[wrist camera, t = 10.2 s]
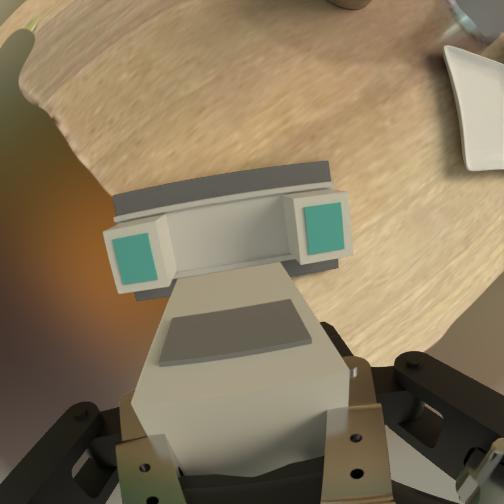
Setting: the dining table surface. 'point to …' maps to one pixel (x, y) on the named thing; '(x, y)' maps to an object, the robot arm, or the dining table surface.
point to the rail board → (228, 227)
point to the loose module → (240, 374)
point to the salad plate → (478, 107)
